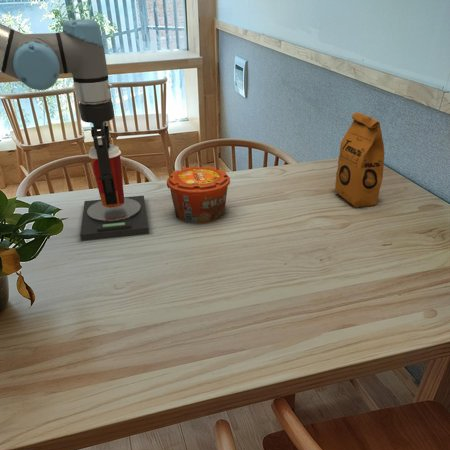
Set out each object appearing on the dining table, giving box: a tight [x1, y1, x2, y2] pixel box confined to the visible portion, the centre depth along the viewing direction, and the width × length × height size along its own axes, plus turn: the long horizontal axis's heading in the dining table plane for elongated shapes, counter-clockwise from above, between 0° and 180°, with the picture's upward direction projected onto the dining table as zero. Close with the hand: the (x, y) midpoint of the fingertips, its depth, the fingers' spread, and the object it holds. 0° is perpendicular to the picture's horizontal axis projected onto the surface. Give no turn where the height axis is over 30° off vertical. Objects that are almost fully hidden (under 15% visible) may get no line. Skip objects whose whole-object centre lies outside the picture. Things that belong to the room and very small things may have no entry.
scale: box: [79, 195, 150, 242], centre depth 115 cm, size 16×20×3 cm
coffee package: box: [334, 111, 385, 208], centre depth 119 cm, size 10×12×22 cm
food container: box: [166, 165, 231, 224], centre depth 115 cm, size 16×16×11 cm
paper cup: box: [87, 143, 125, 208], centre depth 110 cm, size 8×8×14 cm
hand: (111, 197), depth 114 cm, fingers closed on paper cup, 7 cm apart
